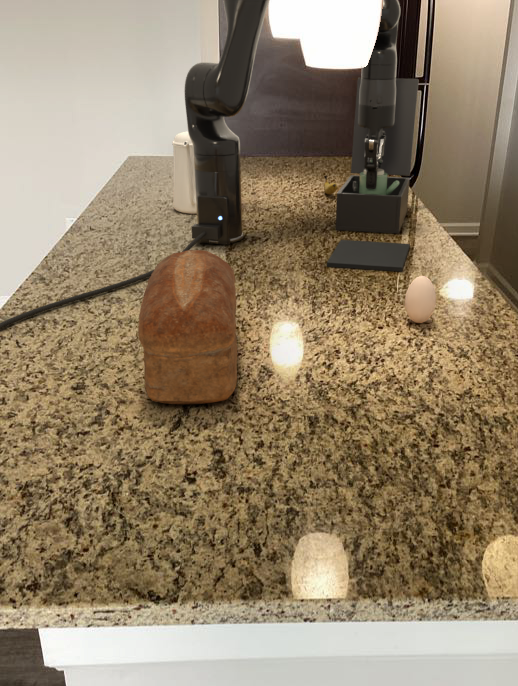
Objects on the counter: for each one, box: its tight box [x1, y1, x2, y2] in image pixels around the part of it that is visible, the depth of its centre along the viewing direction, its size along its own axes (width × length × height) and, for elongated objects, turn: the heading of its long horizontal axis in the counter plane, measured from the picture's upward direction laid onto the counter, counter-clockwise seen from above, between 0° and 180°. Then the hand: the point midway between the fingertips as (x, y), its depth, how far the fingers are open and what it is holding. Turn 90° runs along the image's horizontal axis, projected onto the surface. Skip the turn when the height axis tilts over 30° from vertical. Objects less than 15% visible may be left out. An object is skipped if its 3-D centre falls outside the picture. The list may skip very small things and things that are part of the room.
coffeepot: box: [172, 125, 197, 215], centre depth 181 cm, size 11×25×19 cm, turn 179°
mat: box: [326, 239, 411, 273], centre depth 152 cm, size 16×14×1 cm
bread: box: [137, 249, 238, 405], centre depth 105 cm, size 12×31×14 cm, turn 4°
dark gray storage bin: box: [335, 174, 410, 234], centre depth 175 cm, size 20×14×8 cm
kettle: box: [353, 168, 399, 195], centre depth 171 cm, size 10×6×12 cm, turn 77°
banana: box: [323, 175, 338, 196], centre depth 198 cm, size 10×2×4 cm, turn 10°
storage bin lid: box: [350, 77, 420, 177], centre depth 179 cm, size 20×14×1 cm
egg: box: [404, 275, 437, 324], centre depth 120 cm, size 5×5×7 cm
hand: (373, 185), depth 170 cm, fingers closed on kettle, 6 cm apart
